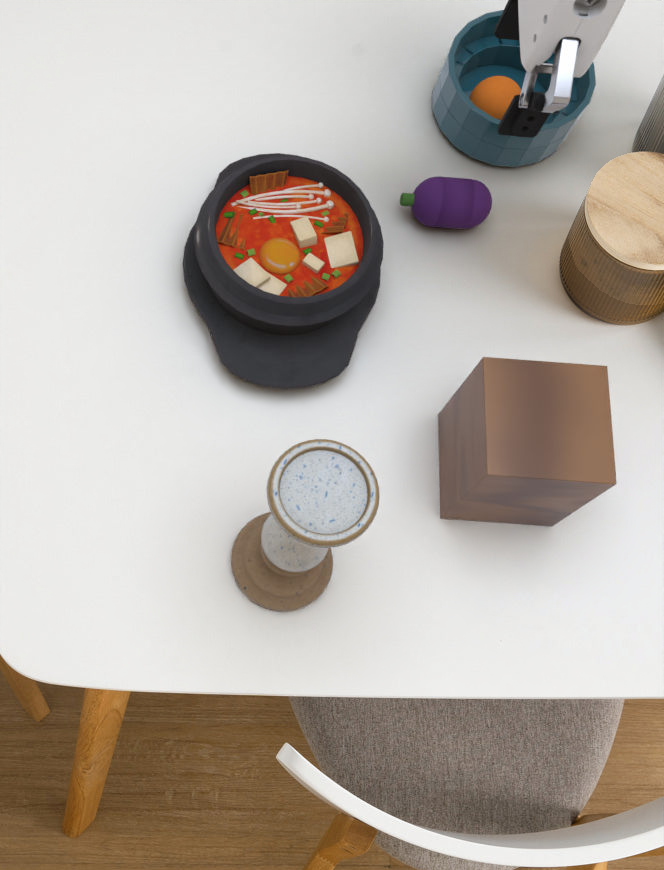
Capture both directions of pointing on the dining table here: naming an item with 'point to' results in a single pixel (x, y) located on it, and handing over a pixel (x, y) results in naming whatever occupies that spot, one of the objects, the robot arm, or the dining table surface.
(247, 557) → the candle holder
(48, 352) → the dining table surface
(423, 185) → the toy eggplant
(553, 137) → the bowl
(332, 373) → the casserole
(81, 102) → the dining table surface
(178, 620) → the dining table surface
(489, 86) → the toy orange
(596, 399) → the cube
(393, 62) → the dining table surface
